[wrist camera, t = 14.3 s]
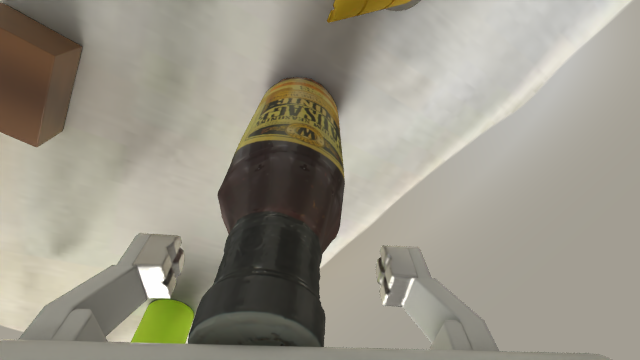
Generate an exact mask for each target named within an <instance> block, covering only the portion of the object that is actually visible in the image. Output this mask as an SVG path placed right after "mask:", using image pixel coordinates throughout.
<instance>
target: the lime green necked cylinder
mask: <svg viewBox="0 0 640 360" xmlns="http://www.w3.org/2000/svg"><path fill="white" fill-rule="evenodd" d="M193 319H194V313H193V311H192V309H191V308H190V307H189V306H187V305H186V304H184V303H182V302H179V301H175V300H169V299H162V300H157V301H154V302H152V303H151V304H150V305H149V306H148V308H147V310H146V312H145V314H144V316H143V318H142V320H141V322H140V324H139V326H138V328H137V330H136V332H135V334H134V337H133V339H132V341H131V342H135V343H176V344H185V342H186V339H187V336H188V333H189V330H190V328H191V325H192V322H193Z"/></svg>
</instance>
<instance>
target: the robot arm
mask: <svg viewBox="0 0 640 360" xmlns="http://www.w3.org/2000/svg"><path fill="white" fill-rule="evenodd" d="M181 244H182V241H181V237H180V236H175V235H161V234H144V233H139V234H138V235H136V236H135V238H134V239H133V241H132V242H131V244H130V245H129V247H128V248H127V250H126V252H125V253H124V255H123V256H122V258H121V259H120V261H119V262H118V264H117V265H112V266H110V267H108V268H107V269H105V270H104V271H102V272H100V273H99V274H97V275H95V276H94V277H92V278H90V279H89V280H87V281H85V282H84V283H82V284H80V285H79V286H77V287H76V288H74V289H72V290H71V291H69V292H67V293H66V294H64V295H62V296H61V297H59V298H57V299H56V300H54V301H52V302H51V303H49V304H47V305H46V306H44V308H43V309H42V310H41V311H40V313H39V314H38V315H37V316H36V318H35V319H34V320H33V322H32V323H31V324H30V325H29V327H28V328H27V329H26V330H25V332H24V333H23V334H22V335H21V337H20V338H19V339H18V340H11V339H9V340H7V339H0V360H612V359H610V358H608V357H606V356H603V355H599V354H589V353H549V352H548V353H547V352H506V351H499V349H498V347H497V345H496V343H495V341H494V339H493V337H492V336H491V333H490V331H489V329H488V327H487V325H486V323H485V321H484V320H483V319H481V317H479V316H478V315H477V314H476V313H475V312H474V311H473V310H471V309H470V308H469V307H468V306H466V304H464V303H463V302H462V301H461V300H460V299H458V298H457V297H456V296H455V295H454V294H453V293H452V292H450V291H449V290H448V289H447V288H446V287H445V286H443V285H442V284H441V283H440V282H439V281H438V280H436V279H435V278H432V277H431V275H430V272H429V270H428V267H427V265H426V263H425V260H424V258H423V255H422V253H421V250H420V248H419V247H410V246H409V247H408V246H406V247H405V246H384V245H383V246H382V247H381V250H380V255H381V257H380V258H379V259H378V260H377V264H376V278H377V282H378V283H379V284H380V285H381V288H380V291H379V292H380V296H381V301H382V305H383V306H398V307H403V309H404V310H405V311H406V312H407V313H408V315H409V316H410V317H411V318H412V319H413V321H414V322H415V323H416V325H417V326H418V327H419V328H420V330H421V331H422V332H423V333H424V334H425V336H426V337H427V338H428V339H429V340H430V342H431V343H432V345H431V347H430V349H429V350H424V349H423V350H422V349H382V348H341V347H297V346H256V345H217V344H176V343H135V342H108V341H107V339H106V336H107V335H108V334H109V333H110V332H111V331H112V330H113V329H115V328H116V327H117V326H118V325H119V324H120V323H121V322H122V321H123V320H125V319H126V318H127V317H128V316H129V315H130V314H131V313H132V312H134V311H135V310H136V309H137V308H138V307H139V306H140V305H141V304H143V303H144V302H145V301H146V300H147V298H171V295H172V293H173V291H174V288H175V286H176V284H177V283H176V279H175V278H176V277H177V276H179V275H180V274H181V272H182V269H183V266H184V261H185V255H184V250H182V249H181V248H180V246H181Z"/></svg>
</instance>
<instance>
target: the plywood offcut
mask: <svg viewBox="0 0 640 360" xmlns="http://www.w3.org/2000/svg"><path fill="white" fill-rule="evenodd" d="M81 51H82V46H80V45H79V44H77V43H75V42H73V41H71V40H69V39H68V38H66V37H64V36H62V35H60V34H59V33H57V32H55V31H53V30H51V29H49V28H48V27H46V26H44V25H42V24H40V23H38V22H37V21H35V20H33V19H31V18H29V17H27V16H26V15H24V14H22V13H20V12H18V11H16V10H15V9H13V8H11V7H9V6H7V5H5V4H4V3H0V132H2V133H4V134H6V135H9V136H11V137H13V138H16V139H18V140H20V141H23V142H25V143H27V144H30V145H32V146H34V147H39V146H40V145H42V144H43V143H45V142H46V141H48V140H49V139H51V138H53V137H54V136H56V135H57V134H59V133H60V132H62V131H63V127H64V123H65V119H66V114H67V110H68V106H69V102H70V98H71V93H72V89H73V85H74V81H75V77H76V72H77V68H78V64H79V60H80V55H81Z"/></svg>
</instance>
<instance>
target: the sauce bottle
mask: <svg viewBox="0 0 640 360" xmlns="http://www.w3.org/2000/svg"><path fill="white" fill-rule="evenodd" d="M344 185H345V181H344V168H343V158H342V147H341V137H340V127H339V117H338V111H337V107H336V104H335V103H334V100H333V98H332V97H331V95H330V94H329V92H328V91H327V90H326V89H325V88H324V87H323V86H322V85H321V84H319V83H318V82H315V81H314V80H312V79H308V78H299V77H296V78H294V77H293V78H286V79H283V80H281V81H280V82H279V83H278V84H276V85H274V86H273V87H271V88H270V89H269V90H268V91H267V92H266V94H265V95H264V97H263V98H262V100H261V102H260V104H259V106H258V108H257V110H256V112H255V114H254V116H253V117H252V119H251V121H250V123H249V125H248V127H247V129H246V131H245V133H244V135H243V137H242V139H241V141H240V143H239V145H238V148H237V150H236V152H235V154H234V157H233V159H232V163H231V165H230V167H229V169H228V172H227V174H226V176H225V179H224V181H223V183H222V185H221V187H220V189H219V191H218V199H219V204H220V209H221V214H222V218H223V221H224V224H225V226H226V228H227V231H228V234H229V235H228V238H227V240H226V244H225V248H224V256H223V259H222V261H221V264H220V266H219V269H218V273H217V275H216V278H215V281H214V283H213V285H212V287H211V288H210V289H209V290H208V291H207V292H206V293H205V295H204V296H203V297H202V299H201V301H200V303H199V306H198V309H197V312H196V315H195V318H194V321H193V324H192V327H191V330H190V332H189V338H188V344H217V345H256V346H297V347H324V335H325V313H324V310H323V309H322V307H321V302H320V300H319V299H320V295H319V280H320V272H319V271H320V268H319V267H320V263H321V259H322V254H323V252H324V251H325V250H326V248H327V247H328V246H329V244H330V243H331V242H332V240H334V239H335V238H336V235H337V233H338V231H339V227H340V220H341V211H342V202H343V193H344Z"/></svg>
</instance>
